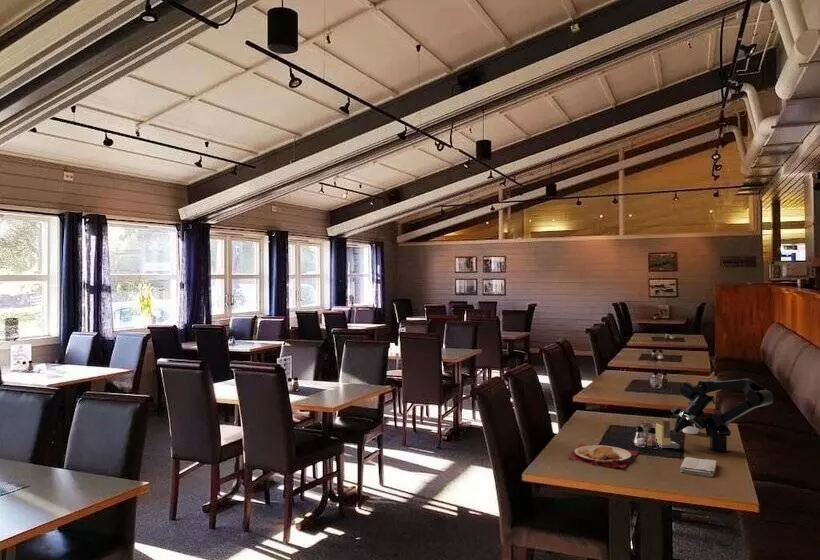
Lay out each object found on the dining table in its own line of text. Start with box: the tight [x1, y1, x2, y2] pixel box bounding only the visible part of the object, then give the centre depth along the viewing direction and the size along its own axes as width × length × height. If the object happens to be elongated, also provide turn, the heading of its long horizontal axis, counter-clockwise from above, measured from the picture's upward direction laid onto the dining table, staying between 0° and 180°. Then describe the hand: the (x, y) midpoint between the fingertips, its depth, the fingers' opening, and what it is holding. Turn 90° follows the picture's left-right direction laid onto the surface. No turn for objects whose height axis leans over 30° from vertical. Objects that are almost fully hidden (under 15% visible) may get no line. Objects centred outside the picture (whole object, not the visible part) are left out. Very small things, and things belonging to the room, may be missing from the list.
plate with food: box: [564, 443, 639, 469], centre depth 257 cm, size 25×26×4 cm
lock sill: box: [655, 422, 680, 449], centre depth 272 cm, size 8×6×10 cm
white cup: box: [682, 424, 699, 435], centre depth 298 cm, size 8×8×10 cm
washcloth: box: [679, 456, 717, 478], centre depth 241 cm, size 12×18×3 cm, turn 151°
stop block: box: [658, 417, 671, 439], centre depth 272 cm, size 3×4×10 cm
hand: (675, 431), depth 272 cm, fingers closed
